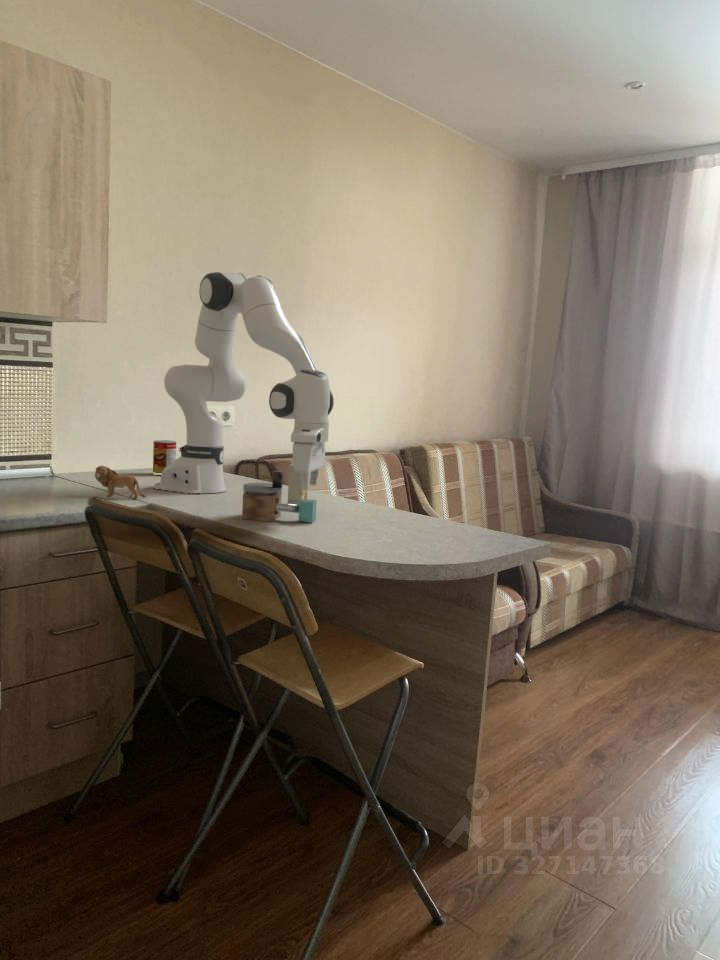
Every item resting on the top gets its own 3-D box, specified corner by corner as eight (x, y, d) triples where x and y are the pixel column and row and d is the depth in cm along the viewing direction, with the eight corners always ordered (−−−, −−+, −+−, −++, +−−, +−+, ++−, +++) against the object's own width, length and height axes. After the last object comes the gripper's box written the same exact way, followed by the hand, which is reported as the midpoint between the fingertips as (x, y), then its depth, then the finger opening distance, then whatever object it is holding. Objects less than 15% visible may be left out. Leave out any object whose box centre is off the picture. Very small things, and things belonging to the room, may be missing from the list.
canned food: (161, 472, 264) (161, 439, 262) (180, 474, 262) (180, 441, 260) (148, 474, 257) (148, 441, 255) (167, 476, 254) (168, 442, 253)
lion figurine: (91, 497, 206) (91, 466, 205) (98, 494, 212) (98, 464, 210) (143, 500, 207) (143, 469, 205) (148, 497, 212) (149, 466, 211)
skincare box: (301, 508, 208) (303, 465, 207) (286, 506, 209) (288, 464, 207) (307, 504, 214) (309, 463, 213) (293, 503, 215) (295, 462, 214)
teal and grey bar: (241, 516, 190) (242, 496, 189) (246, 513, 194) (247, 494, 193) (312, 522, 187) (313, 502, 186) (315, 519, 191) (316, 500, 190)
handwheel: (275, 496, 184) (276, 474, 183) (237, 492, 186) (238, 471, 185) (287, 490, 194) (288, 470, 193) (251, 487, 196) (252, 467, 195)
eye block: (242, 519, 188) (243, 493, 187) (251, 513, 195) (252, 489, 195) (272, 521, 186) (273, 495, 185) (280, 516, 194) (281, 491, 193)
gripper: (308, 431, 196) (307, 481, 198) (288, 435, 176) (287, 491, 178) (331, 432, 195) (329, 483, 197) (314, 436, 175) (312, 493, 177)
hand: (309, 487), depth 187 cm, fingers open, 8 cm apart
